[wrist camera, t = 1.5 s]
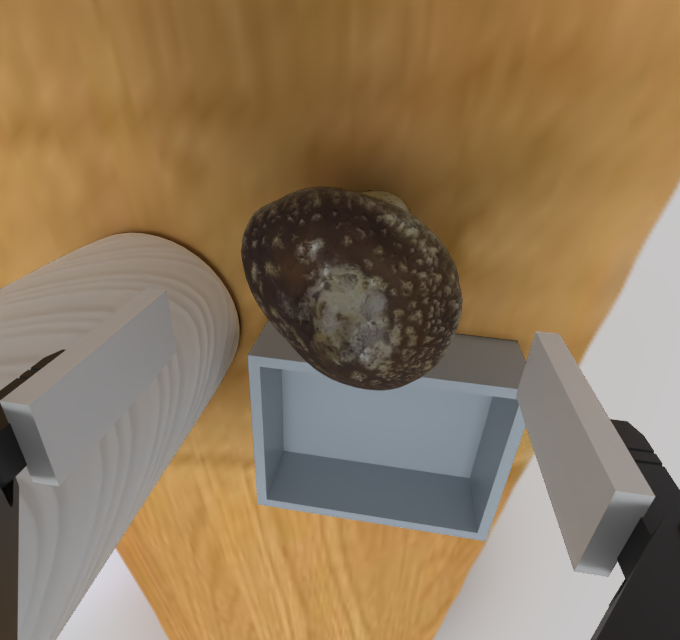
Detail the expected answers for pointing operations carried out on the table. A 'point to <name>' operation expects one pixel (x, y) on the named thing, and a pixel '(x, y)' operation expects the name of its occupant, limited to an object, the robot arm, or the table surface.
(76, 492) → the vase
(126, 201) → the table surface
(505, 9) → the table surface
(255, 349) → the bin
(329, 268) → the mushroom
